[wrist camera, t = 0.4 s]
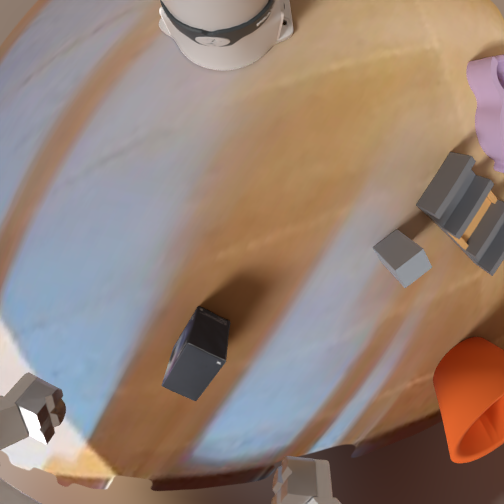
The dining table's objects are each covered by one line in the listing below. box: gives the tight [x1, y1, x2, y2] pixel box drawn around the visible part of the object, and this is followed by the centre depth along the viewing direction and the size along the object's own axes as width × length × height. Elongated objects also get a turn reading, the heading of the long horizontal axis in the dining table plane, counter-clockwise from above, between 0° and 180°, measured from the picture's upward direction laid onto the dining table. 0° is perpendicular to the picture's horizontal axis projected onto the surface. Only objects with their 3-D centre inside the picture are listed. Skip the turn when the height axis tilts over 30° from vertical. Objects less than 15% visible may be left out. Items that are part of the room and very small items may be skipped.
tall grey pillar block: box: [373, 229, 432, 288], centre depth 45 cm, size 4×5×9 cm
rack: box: [416, 152, 504, 276], centre depth 44 cm, size 19×11×6 cm, turn 57°
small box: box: [162, 306, 230, 401], centre depth 49 cm, size 11×6×10 cm, turn 150°
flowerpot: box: [433, 337, 504, 463], centre depth 50 cm, size 25×25×20 cm
